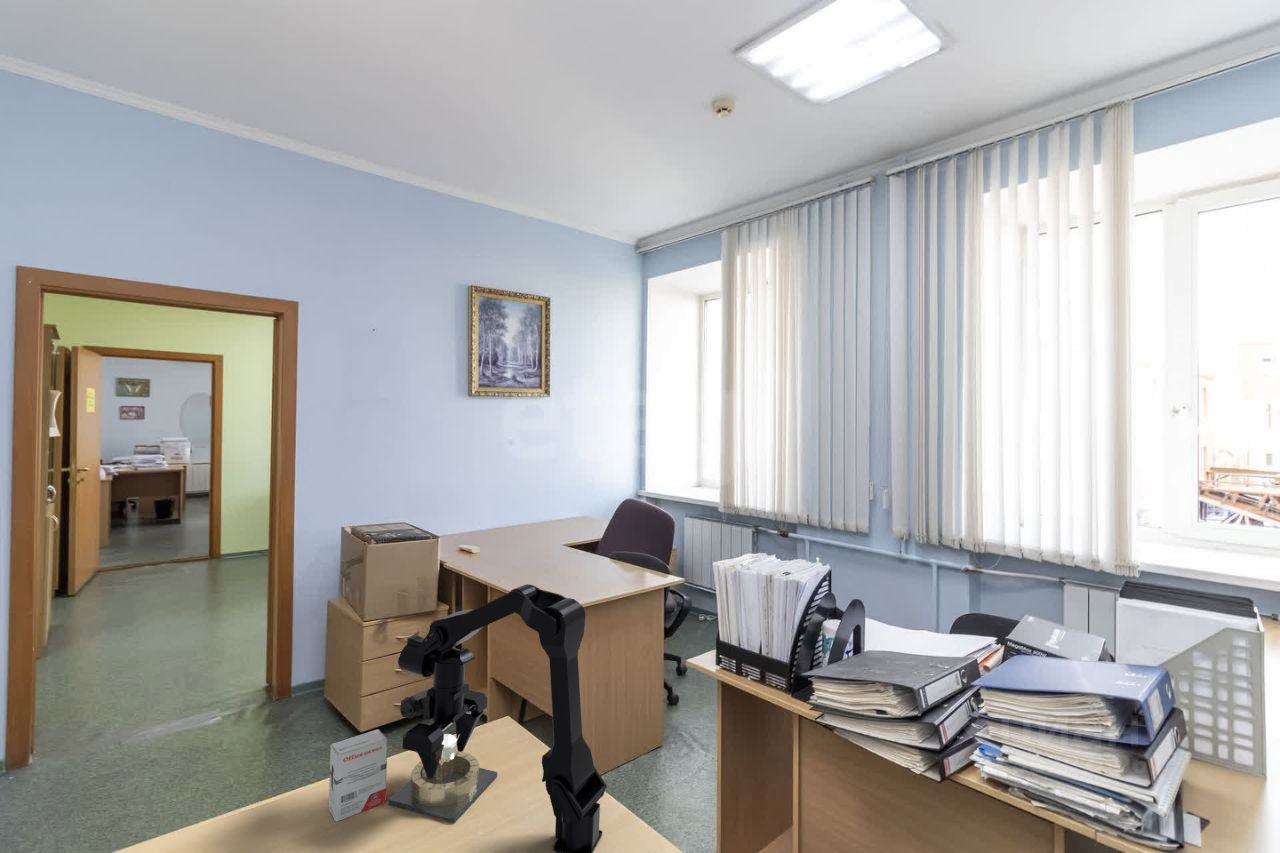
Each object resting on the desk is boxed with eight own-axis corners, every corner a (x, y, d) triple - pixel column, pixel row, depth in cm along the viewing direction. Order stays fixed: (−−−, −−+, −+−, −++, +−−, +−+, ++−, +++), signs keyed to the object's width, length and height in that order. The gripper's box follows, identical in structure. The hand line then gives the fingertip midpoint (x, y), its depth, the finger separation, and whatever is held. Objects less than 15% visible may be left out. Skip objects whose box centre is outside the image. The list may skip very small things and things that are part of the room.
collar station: (497, 777, 114) (497, 756, 114) (454, 823, 101) (455, 800, 101) (436, 762, 119) (437, 742, 119) (388, 804, 105) (388, 782, 105)
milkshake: (451, 794, 107) (453, 740, 107) (425, 790, 108) (427, 736, 108) (464, 780, 111) (465, 728, 111) (438, 776, 112) (440, 724, 112)
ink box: (377, 789, 109) (379, 726, 109) (386, 802, 106) (388, 738, 106) (327, 808, 104) (329, 742, 104) (335, 823, 100) (337, 754, 100)
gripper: (442, 656, 121) (440, 731, 121) (378, 696, 103) (375, 783, 103) (489, 665, 118) (487, 741, 118) (431, 707, 100) (428, 797, 100)
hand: (446, 764), depth 110 cm, fingers open, 9 cm apart
